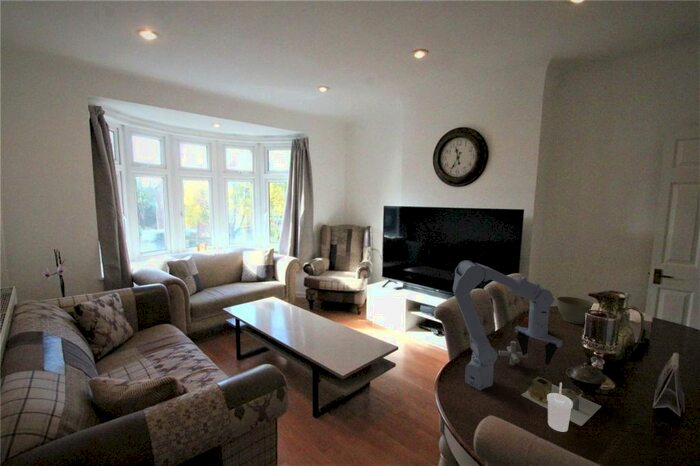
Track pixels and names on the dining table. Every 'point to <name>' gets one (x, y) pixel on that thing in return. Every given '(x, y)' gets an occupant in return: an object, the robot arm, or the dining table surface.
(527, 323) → the dragon fruit
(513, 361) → the pipe connector
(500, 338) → the dining table surface
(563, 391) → the plate
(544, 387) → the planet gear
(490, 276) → the robot arm
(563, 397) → the beverage cup
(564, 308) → the planter bowl
